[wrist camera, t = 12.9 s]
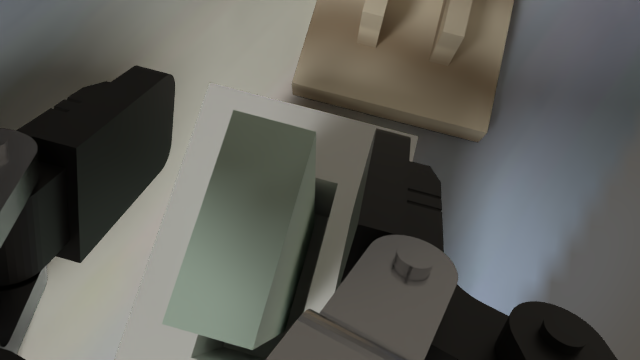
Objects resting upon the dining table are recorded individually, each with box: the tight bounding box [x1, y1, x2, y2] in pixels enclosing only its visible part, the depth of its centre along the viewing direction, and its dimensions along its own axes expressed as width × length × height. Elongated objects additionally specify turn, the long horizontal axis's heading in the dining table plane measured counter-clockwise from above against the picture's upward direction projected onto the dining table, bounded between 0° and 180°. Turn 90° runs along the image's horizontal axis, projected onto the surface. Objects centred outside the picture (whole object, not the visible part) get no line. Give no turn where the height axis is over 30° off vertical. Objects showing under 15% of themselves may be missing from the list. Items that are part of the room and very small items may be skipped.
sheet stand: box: [114, 82, 418, 360], centre depth 23 cm, size 12×8×8 cm, turn 165°
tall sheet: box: [162, 110, 316, 350], centre depth 19 cm, size 5×2×14 cm, turn 165°
